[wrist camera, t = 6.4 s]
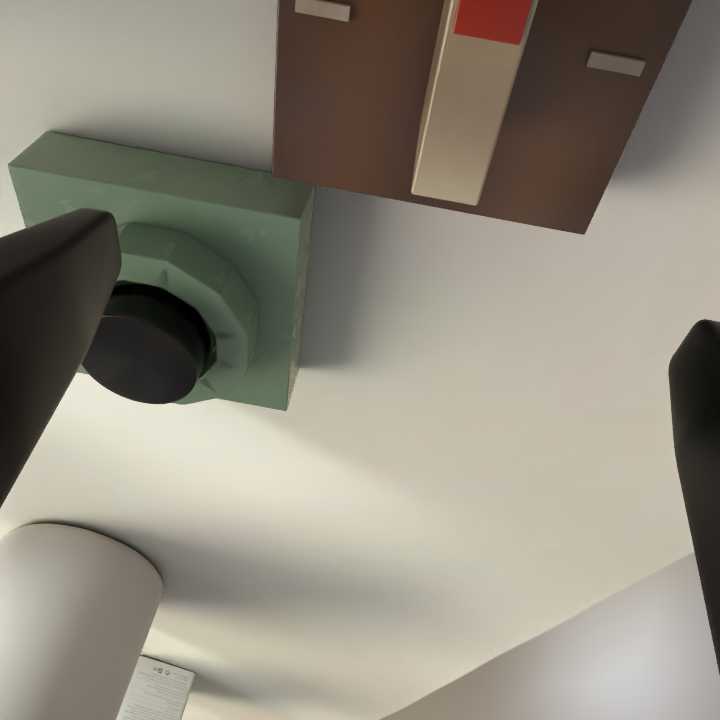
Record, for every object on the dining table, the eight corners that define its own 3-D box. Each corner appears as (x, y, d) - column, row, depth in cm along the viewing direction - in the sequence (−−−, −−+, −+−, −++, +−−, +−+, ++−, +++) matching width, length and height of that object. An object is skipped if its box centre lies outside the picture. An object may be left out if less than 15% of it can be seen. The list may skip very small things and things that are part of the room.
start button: (208, 295, 21) (192, 328, 20) (213, 381, 24) (199, 414, 23) (84, 272, 21) (61, 303, 20) (104, 361, 24) (85, 393, 23)
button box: (315, 180, 22) (290, 249, 19) (298, 369, 29) (277, 443, 26) (46, 130, 22) (-25, 190, 19) (93, 331, 29) (47, 400, 26)
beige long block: (475, 131, 17) (477, 212, 14) (420, 121, 17) (409, 200, 14) (530, -72, 14) (548, -25, 11) (461, -84, 14) (459, -41, 11)
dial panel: (733, -195, 14) (783, -189, 12) (572, 188, 21) (585, 238, 19) (314, -274, 14) (284, -283, 12) (290, 136, 21) (270, 179, 19)
